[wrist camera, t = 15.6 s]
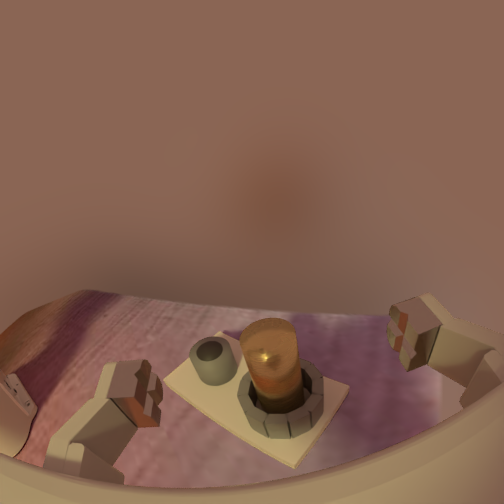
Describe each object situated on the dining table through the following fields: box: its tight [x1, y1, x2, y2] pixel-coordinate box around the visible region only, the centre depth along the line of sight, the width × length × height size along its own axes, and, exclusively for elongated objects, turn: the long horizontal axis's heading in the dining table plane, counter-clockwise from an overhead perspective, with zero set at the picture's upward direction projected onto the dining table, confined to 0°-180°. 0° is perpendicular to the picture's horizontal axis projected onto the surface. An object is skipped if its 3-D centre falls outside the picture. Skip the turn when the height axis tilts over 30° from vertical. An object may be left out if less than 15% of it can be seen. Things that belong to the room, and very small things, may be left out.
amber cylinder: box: [239, 318, 305, 414], centre depth 27 cm, size 5×5×12 cm
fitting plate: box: [163, 331, 349, 469], centre depth 33 cm, size 22×12×6 cm, turn 51°
